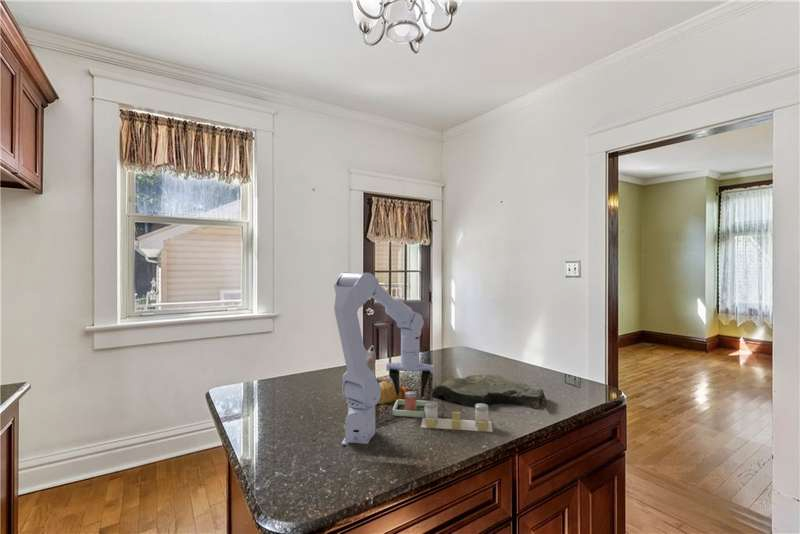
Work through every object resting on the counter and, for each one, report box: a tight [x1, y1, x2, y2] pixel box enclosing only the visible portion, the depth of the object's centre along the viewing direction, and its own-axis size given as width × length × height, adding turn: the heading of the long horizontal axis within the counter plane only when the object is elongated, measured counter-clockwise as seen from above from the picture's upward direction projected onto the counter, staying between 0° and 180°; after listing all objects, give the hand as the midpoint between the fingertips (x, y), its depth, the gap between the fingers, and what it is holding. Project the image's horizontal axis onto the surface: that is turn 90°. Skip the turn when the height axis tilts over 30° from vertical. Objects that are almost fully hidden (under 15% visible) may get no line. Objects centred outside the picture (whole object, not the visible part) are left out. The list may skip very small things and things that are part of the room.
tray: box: [391, 399, 428, 418], centre depth 116 cm, size 9×10×2 cm
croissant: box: [377, 380, 413, 405], centre depth 127 cm, size 21×10×8 cm, turn 112°
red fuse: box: [404, 390, 417, 411], centre depth 116 cm, size 4×4×6 cm
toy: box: [364, 345, 377, 374], centre depth 147 cm, size 6×19×15 cm, turn 16°
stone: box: [430, 373, 547, 410], centre depth 128 cm, size 35×6×29 cm
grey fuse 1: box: [424, 400, 439, 425], centre depth 107 cm, size 4×4×6 cm
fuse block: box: [420, 411, 494, 433], centre depth 106 cm, size 6×20×3 cm, turn 81°
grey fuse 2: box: [474, 403, 489, 428], centre depth 105 cm, size 4×4×6 cm
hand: (410, 394), depth 116 cm, fingers open, 7 cm apart
